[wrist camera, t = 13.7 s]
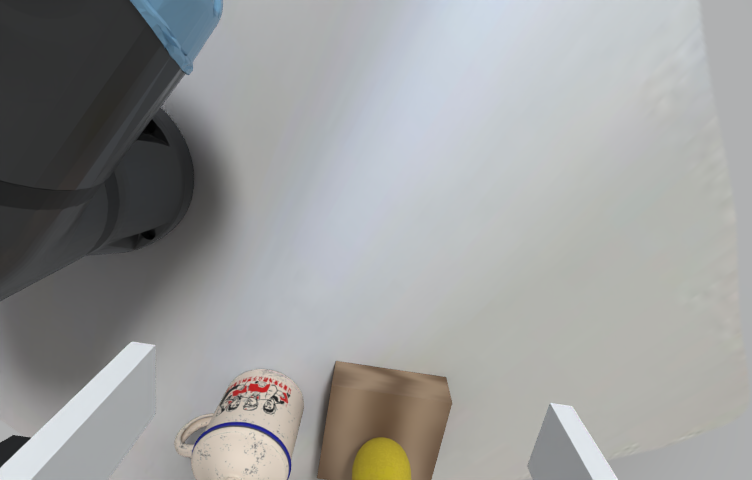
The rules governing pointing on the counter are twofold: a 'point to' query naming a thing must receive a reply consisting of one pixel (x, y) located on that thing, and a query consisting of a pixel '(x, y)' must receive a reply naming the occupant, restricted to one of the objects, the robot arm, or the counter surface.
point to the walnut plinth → (383, 417)
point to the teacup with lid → (247, 430)
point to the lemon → (381, 461)
